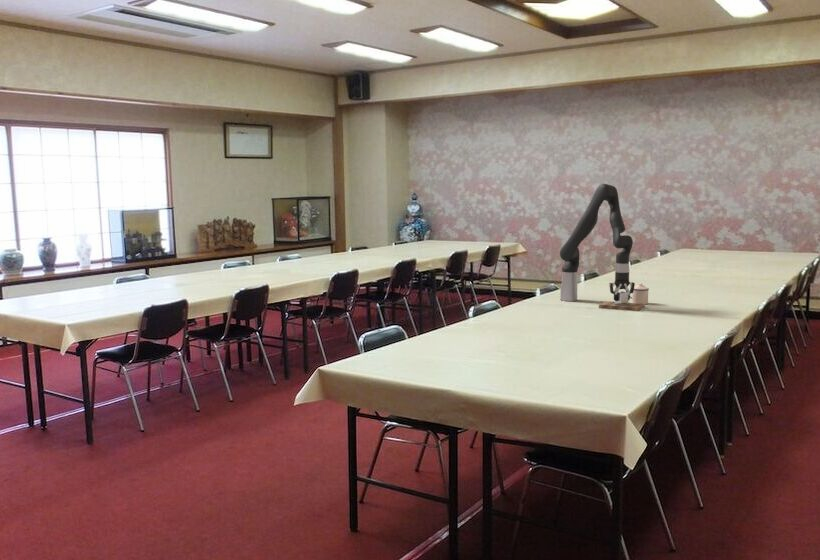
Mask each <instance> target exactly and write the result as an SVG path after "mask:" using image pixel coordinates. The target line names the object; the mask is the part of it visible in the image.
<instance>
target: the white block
mask: <svg viewBox="0 0 820 560" xmlns="http://www.w3.org/2000/svg"><path fill="white" fill-rule="evenodd" d="M615 302H617V303H625V304H627V303H628V302H629V301H628V293H627V292H626V291H622V290H621V291H618V292H617V301H615Z"/></svg>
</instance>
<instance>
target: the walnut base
mask: <svg viewBox="0 0 820 560" xmlns="http://www.w3.org/2000/svg"><path fill="white" fill-rule="evenodd" d="M645 306H646V304H639V303H632V302H629V301H628V303H627V304H625V303H617V302H616V301H603V302H602V303H600V304H598V309H605V310H621V311H631V312H632V311H633V312H639V311H641V310H643V309H645Z"/></svg>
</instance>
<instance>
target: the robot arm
mask: <svg viewBox="0 0 820 560" xmlns="http://www.w3.org/2000/svg"><path fill="white" fill-rule="evenodd" d="M619 200H620V199H619V194H618V189H617V188H616V187H615V186H614V185H612V184H607V183H601V184H598V186H597V188H596V189H595V191H594V193H593V195H592V198H591V200H590V202H589V204H588V205H587V208H586V209H585V211H584V213H583V214H582V216H581V217H580V219H579V221H578V222H577V224H576V226H575V227H574V230H573V231H572V233H571V234H570V236H569V237H568V239H567V240H566V242H565V243H564V245H562V247H561V249H560V251H559V257H560V259H561V260H563V261H564V264H563V265H562V268H561V284H560V298H559V299H560V301H564V302H576V301H578V286H579V285H578V284H579V283H578V281H579V280H578V274H579V273H578V272H579V271H578V270H579V267H580V250H579V248H578V247H579V246H580V244H581V243H582V242H583V241H584V240H585V239H586V238H587V237H588V236H589V235H590V234H591V233H592V231H593V229H594V228H595V226H596V225H597V222H598V218H599V211H600V207H601V206H602V204H603V203H604V202H607V203H608V206H609V211H610V212H609V224H610V227H611V229H612V244H613V246H614V248H616V249H622V250H621V251H619V252H617V253H616V255H615V270H614V282H609V283H608V284H609V293H610V294H613V300H614V302H616V301H617V292H620V290H624V291H625V292H627V293H628V302H629V301H630V299H631V298H630V296H631V294H633V291H634V287H636V286H635V285H636V283H635V282H633V281H632V282H631V281H630V255H631V251H632V247H633V244H634V241H633V238H632V236H631V235H628V234H627V235H621V234H622V233H624V232H625V231H626V226H625V223H624V220H623V216H622V213H621V207H620V201H619ZM614 286H615V289H614ZM628 287H630V288H628ZM629 289H630V290H629Z"/></svg>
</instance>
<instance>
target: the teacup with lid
mask: <svg viewBox="0 0 820 560" xmlns="http://www.w3.org/2000/svg"><path fill="white" fill-rule="evenodd" d="M649 289H650V288H649V287H648V286H646V285H643V283H641V282H640V283H638V284H637V285H636V286H634V291H633V293H632V296H631V295H630V299H631V300H632V302H631V303H639V304H645V305H648V304H649Z"/></svg>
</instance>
